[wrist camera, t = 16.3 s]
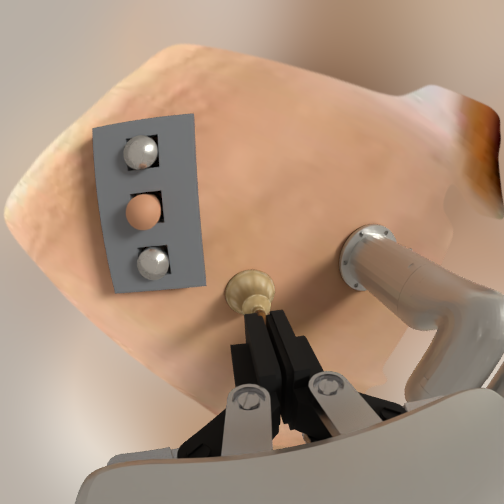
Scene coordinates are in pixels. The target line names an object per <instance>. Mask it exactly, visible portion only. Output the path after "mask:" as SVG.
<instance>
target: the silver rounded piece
mask: <svg viewBox="0 0 504 504" xmlns="http://www.w3.org/2000/svg"><path fill="white" fill-rule="evenodd" d="M168 257H169V254H168V248H167V246H166V245H160V246H150V247H147V248H146V249H145V250H143V251H142V253H141V254H140V256H139V258H138V261H137V267H138V270H139V272H140V274H141V275H142V276H143V277H145V278H147V279H149V280H158V279H161V278H162V277H164V276H165V275H166V273H167V271H168V267H169V258H168Z"/></svg>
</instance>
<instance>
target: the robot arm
mask: <svg viewBox="0 0 504 504" xmlns="http://www.w3.org/2000/svg"><path fill="white" fill-rule="evenodd" d="M339 269H340V273H341V276H342V278H343V280H344V281H345V282H346V283H347V284H348V285H349V286H350V287H351V288H353V289H355V290H359V291H366V290H368V291H369V292H370V293H371V294H372V295H374V296H375V297H376V298H377V299H378V300H379V301H380V302H382V303H383V304H384V305H385V306H386V307H387V308H388V309H390V310H391V311H392V312H393V313H394V314H395V315H396V316H397V317H399V318H400V319H401V320H402V321H403V322H404V323H405V324H406V325H408V326H409V327H411V328H413V329H416V330H420V331H428V330H435V329H437V332H436V334H435V336H434V338H433V340H432V342H431V344H430V346H429V347H428V349H427V351H426V352H425V354H424V355H423V357H422V359H421V360H420V362H419V363H418V365H417V366H416V368H415V370H414V371H413V373H412V374H411V376H410V377H409V379H408V381H407V383H406V386H405V399H406V401H407V403H405V404H404V406H401V405H399V404H396V403H394V402H390V401H386V400H383V399H379V398H376V397H372V396H369V395H366V394H362V393H359V392H357V391H356V390H355V388H354V387H353V386H352V385H351V384H350V382H349V381H348V380H347V379H346V378H345V377H344V376H343V375H341V374H339V373H337V372H332V371H323V369H322V367H321V365H320V363H319V361H318V359H317V357H316V356H315V354H314V352H313V350H312V348H311V346H310V344H309V342H308V340H307V338H306V337H305V336H298V337H296V336H295V334H294V332H293V330H292V328H291V326H290V324H289V321H288V319H287V317H286V315H285V313H284V311H283V310H276V311H270V315H266V317H265V319H266V325H265V322H264V319H263V316H258V314H257V313H250V314H244V320H245V334H246V344H236V345H230V346H231V355H232V363H233V371H234V379H235V386H236V388H234V389H233V390H232V391H231V392H230V393H229V395H228V398H227V406H226V409H225V410H223V411H222V412H221V413H220V414H219V415H218V416H216V417H215V418H214V419H213V420H212V421H210V422H209V423H208V424H207V425H206V426H204V427H203V428H202V429H201V430H200V431H198V432H197V433H196V434H194V435H193V436H192V437H191V438H189V439H188V440H187V441H185V442H184V443H183V444H182V445H181V446H180V448H177V449H172V450H171V449H170V447H168V448H163V449H157V450H150V451H144V452H135V453H127V454H120V455H116V456H114V457H113V458H111V459H110V461H109V462H108V464H107V466H105V467H102V468H100V469H97V470H95V471H94V472H92V473H91V474H89V475H88V476H87V478H86V479H85V480H84V482H83V484H82V485H81V488H80V490H79V492H78V495H77V498H76V502H75V504H504V362H503V364H502V365H501V367H500V368H499V370H498V371H497V373H496V374H495V376H494V377H493V379H492V380H491V382H490V383H489V385H488V386H487V387H486V388H481V386H482V385H483V384H484V382H485V381H486V380H487V379H488V377H489V376H490V374H491V373H492V371H493V370H494V368H495V367H496V365H497V363H498V362H499V360H500V359H501V357H502V355H503V353H504V295H503V294H501V293H500V292H498V291H496V290H494V289H491V288H488V287H485V286H483V285H480V284H477V283H474V282H472V281H470V280H467V279H465V278H463V277H460V276H458V275H456V274H455V273H452V272H450V271H449V270H447V269H445V268H443V267H441V266H440V265H438V264H436V263H434V262H432V261H431V260H429V259H427V258H425V257H423V256H421V255H420V254H418V253H416V252H414V251H412V249H411V248H406V247H404V246H402V245H401V244H399V243H397V242H396V239H395V237H394V235H393V233H392V232H391V231H390V230H389V229H387V228H386V227H384V226H381V225H378V224H368V225H365V226H363V227H361V228H359V229H357V230H356V231H355V232H353V233H352V235H351V236H350V237H349V238H348V239H347V241H346V242H345V244H344V246H343V248H342V251H341V254H340V260H339ZM280 417H282V420H283V423H284V424H287V423H288V424H289V428H290V430H294V429H295V430H297V431H299V432H302V436H303V439H304V441H305V442H306V444H303V445H298V446H293V447H288V448H283V449H277V450H273V449H272V448H273V447H272V440H273V438H274V437H275V436H276V435H277V434H278V433H279V425H280Z"/></svg>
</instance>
